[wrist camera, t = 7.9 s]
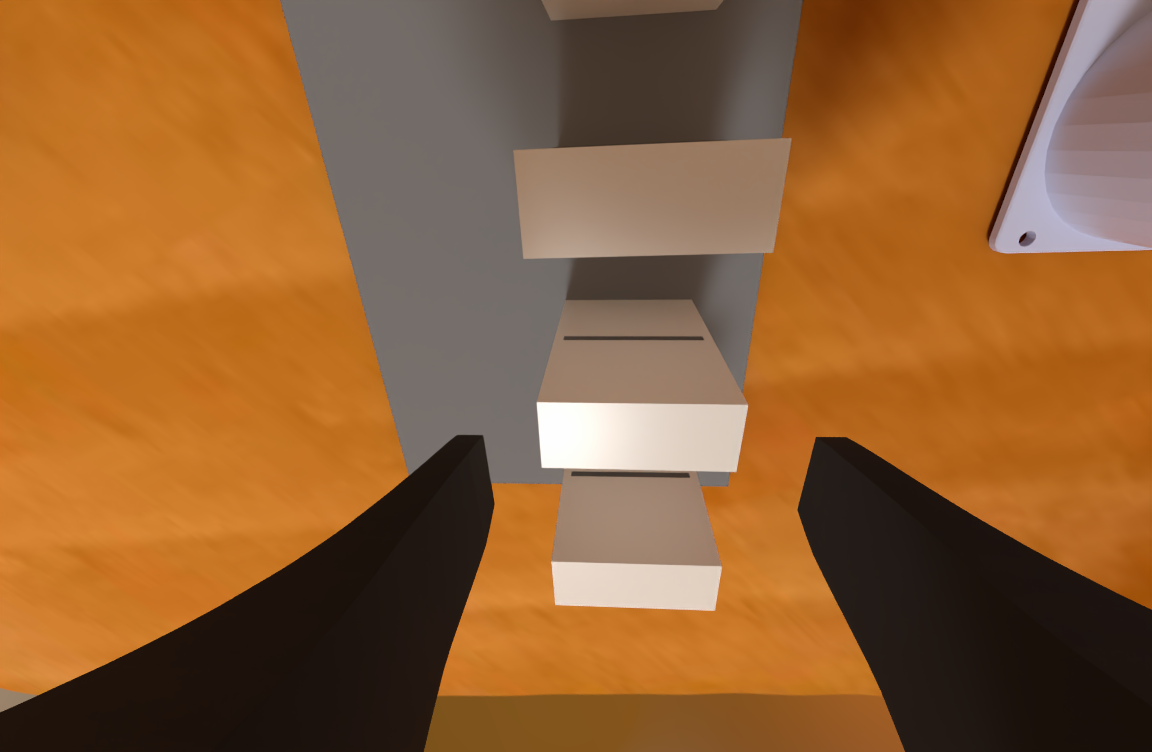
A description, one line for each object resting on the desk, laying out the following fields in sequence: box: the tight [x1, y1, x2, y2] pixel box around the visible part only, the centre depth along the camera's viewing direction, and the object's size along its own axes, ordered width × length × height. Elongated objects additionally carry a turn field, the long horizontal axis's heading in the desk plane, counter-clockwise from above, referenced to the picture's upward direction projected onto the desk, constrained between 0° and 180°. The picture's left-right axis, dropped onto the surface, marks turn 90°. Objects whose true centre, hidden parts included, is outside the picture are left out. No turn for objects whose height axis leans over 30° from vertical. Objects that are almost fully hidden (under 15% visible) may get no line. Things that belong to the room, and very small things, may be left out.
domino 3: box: [552, 468, 722, 611], centre depth 17 cm, size 2×5×8 cm, turn 92°
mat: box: [280, 0, 803, 486], centre depth 17 cm, size 16×26×1 cm, turn 2°
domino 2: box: [537, 299, 748, 472], centre depth 15 cm, size 2×5×8 cm, turn 91°
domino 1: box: [513, 138, 792, 259], centre depth 12 cm, size 2×5×8 cm, turn 92°
